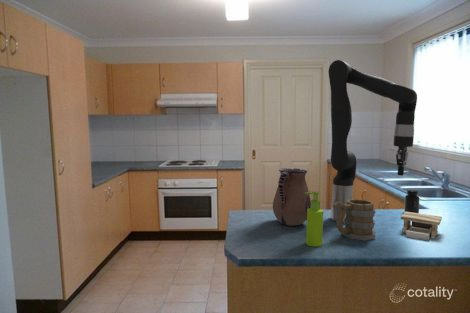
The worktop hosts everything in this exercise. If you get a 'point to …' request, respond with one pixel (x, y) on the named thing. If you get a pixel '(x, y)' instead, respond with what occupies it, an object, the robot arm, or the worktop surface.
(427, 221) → the small wooden table
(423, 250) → the worktop surface
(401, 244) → the worktop surface
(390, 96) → the robot arm
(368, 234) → the tankard
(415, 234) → the white pull-out drawer
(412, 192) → the supplement bottle
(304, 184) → the ceramic pitcher
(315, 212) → the soap dispenser
